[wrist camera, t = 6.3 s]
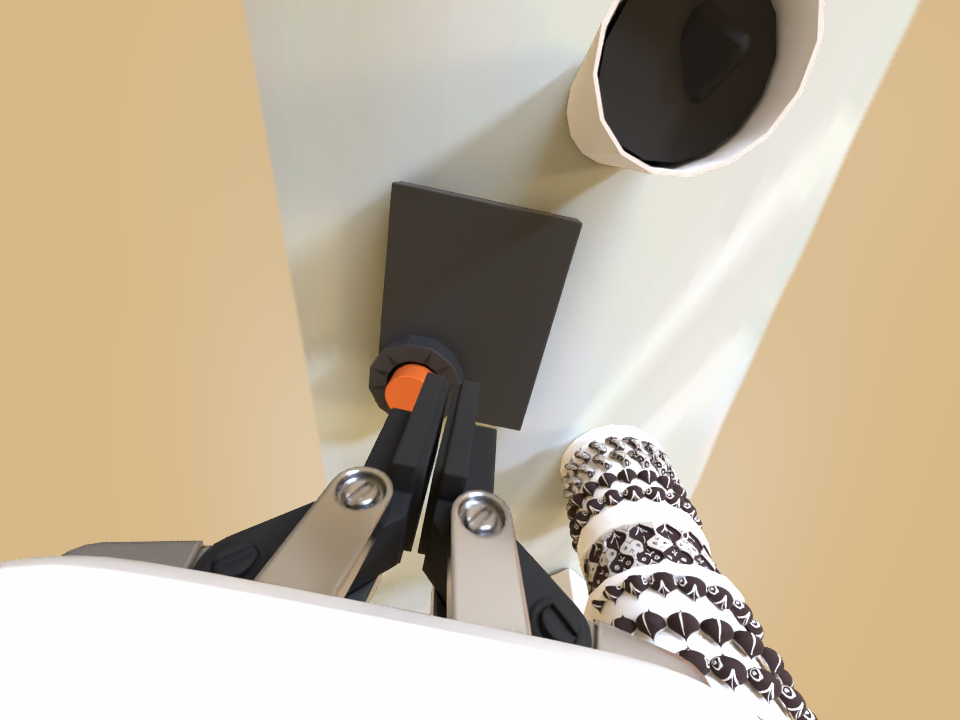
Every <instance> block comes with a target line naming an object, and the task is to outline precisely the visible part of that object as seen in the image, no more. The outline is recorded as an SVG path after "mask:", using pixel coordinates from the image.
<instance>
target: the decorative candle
mask: <svg viewBox="0 0 960 720" xmlns="http://www.w3.org/2000/svg"><path fill="white" fill-rule="evenodd" d="M560 472H561V475H562V478H561V481H562V483H564V484H565V486H566V488H567V489H564V491H563V493H564V494H563V495H564V497H565V498H569V503H568V504H566V510H567V511H568V512H567V516H568V518H569V519H570V520H571V521H570V524H569V527H570V535H571V537H572V538H573V541H572V546H573V549H574V550H575V551H576V552H577V553H578V556H579V562H580V566H581V569H582V572H583V575H584V578H585V580H586V585H587V590H588V596H589V597H588V600H587V603H586V606H585V610H584V616H585V618H586V619H587V620H589V621H591V622H593V623H595V624H596V622H597V620H601V621H603V622H605V623H607V624H610V625H612V626H614V627H616V628H619V629H621V630H623V631H625V632H627V633H630V634H632V635H634V636H636V637H639V638H641V639H643V640H645V641H647V642H650V643H652V644H654V645H656V646H659V647H661V648H663V649H665V650H668V651H670V652H672V653H674V654H676V655H679V656H681V657H683V658H684V659H686V660H687V661H689V662H690V663H692V664H693V665H694V666H695V667H696V668H697V669H698V670H699V671H700V672H701V673H702V674H703V675H704V676H705V678H706V679H707V681H708V682H709V684H710V686H711V687H712V688H713V689H715V690H717V691H718V692H720V693H722V694H723V695H725V696H727V697H728V698H730V699H731V700H733V701H735V702H736V703H738V704H739V705H741V706H742V707H744V708H746V709H747V710H748V711H750V712H751V713H752V714H754V715H755V716H756V717H758V718H759V719H760V720H792V719H791V716H790V714H789V712H790V713H791V714H792V716H793V717H794V719H795V720H818V719H817V718H816V716H815V714H814V713H813V712H812V711H810V710H809V709H807V708H806V704H805V701H804V699H803V697H802V696H801V695H800V694H799V693H798V692H797V691H796V690H795V689H793V687H794V683H793V679H792V677H791V675H790V674H789V673H788V672H787V671H786V670H784V663H783V660H782V658H781V657H780V655H779V654H778V653H777V652H776V651H774V650H772V649H770V648H767V647H764V645H763V643H762V641H761V640H762V638H763V635H764V632H763V628H762V626H761V625H760V623H759V622H758V621H756V620H755V619H753V614H752V611H751V609H750V608H749V607H748V606H747V605H746V604H745V603H744V599H743V597H742V595H741V593H740V592H739V591H738V590H737V589H736V588H735V587H734V585H733V584H732V583H731V582H730V581H729V580H728V579H727V578H726V577H724V576H722V575H721V574H720V572H719V570H718V568H717V566H716V564H714V563H713V561H712V559H711V554H710V546H709V544H708V542H707V540H706V538H705V537H704V534H703V532H702V531H701V528H702V522H701V520H700V519H699V518H698V517H697V516H696V515H697V512H696V509H695V508H694V506H693V505H691V502H690V501H689V499H687V498H686V491H685V489H684V488H683V487H682V485H681V482H680V480H679V479H678V477H677V473H676V471H675V470H674V468H673V467H672V466H671V464H670V463H669V459H668V457H667V455H666V454H665V453H664V451H663V449H662V447H661V446H660V445H659V444H658V443H657V441H656V440H655V439H654V438H653V437H652V435H650V434H648V433H646V432H644V431H641V430H639V429H637V428H635V427H630V426H619V425H610V426H605V427H601V428H596V429H592V430H590V431H588V432H586V433H585V434H583V435H581V436H580V437H578V438H576V439H575V440H574V441H573V442H572V443H571V444H570V446H569V447H568V448H567V450H566V451H565V452H564V453H563V457H562V462H561V467H560ZM762 659H763V660H764V662H765V664H766V665H767V667H768V668H769V670H770V671H771V673H770V672H769V671H767V669H766V668H765V666H764V664H763V662H762Z"/></svg>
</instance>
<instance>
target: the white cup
mask: <svg viewBox="0 0 960 720" xmlns="http://www.w3.org/2000/svg"><path fill="white" fill-rule="evenodd" d="M824 12H825V0H613V2H612V4H611V5H610V7H609V9H608V11H607V13H606V15H605V17H604V19H603V21H602V23H601V25H600V27H599V29H598V31H597V34H596V36H595V38H594V40H593V42H592V44H591V46H590V48H589V50H588V52H587V54H586V57H585V59H584V61H583V63H582V65H581V67H580V69H579V71H578V73H577V75H576V77H575V79H574V82H573V84H572V86H571V88H570V92H569V99H568V105H567V111H566V115H567V120H568V125H569V131H570V136H571V137H572V139H573V140H574V142H575V144H576V145H577V147H578V148H579V150H580V151H581V153H582V154H584V155H585V156H587V157H589V158H590V159H592V160H594V161H595V162H597V163H599V164H604V165H609V166H615V167H620V168H625V169H630V170H635V171H640V172H645V173H650V174H659V175H669V176H680V177H693V176H696V175H699V174H703V173H706V172H709V171H712V170H715V169H719V168H722V167H725V166H728V165H731V164H732V163H734V162H735V161H736V160H738V159H739V158H741V157H742V156H743V155H745V154H746V153H747V152H749V151H750V150H751V149H753V148H754V147H755V146H757V145H758V144H760V143H761V142H762V141H764V140H765V139H766V138H768V137H769V136H770V135H771V134H772V132H773V131H774V130H775V129H776V127H777V126H778V125H779V123H780V122H781V121H782V119H783V118H784V117H785V115H786V114H787V113H788V111H789V110H790V109H791V108H792V106H793V105H794V104H795V102H796V101H797V100H798V98H799V97H800V96H801V94H802V93H803V91H804V88H805V85H806V83H807V80H808V78H809V75H810V73H811V70H812V67H813V65H814V62H815V60H816V57H817V54H818V52H819V49H820V47H821V44H822V42H823V31H824Z"/></svg>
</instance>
